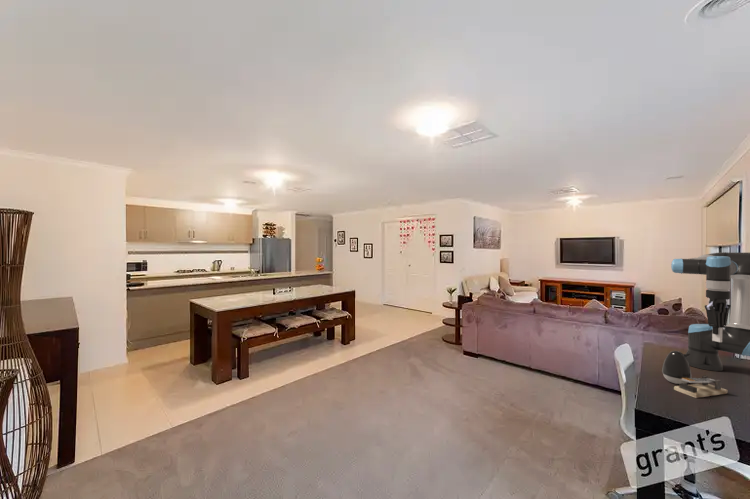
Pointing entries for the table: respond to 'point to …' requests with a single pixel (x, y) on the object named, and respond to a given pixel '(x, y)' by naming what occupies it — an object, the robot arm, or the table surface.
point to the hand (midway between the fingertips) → (717, 341)
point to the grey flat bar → (699, 380)
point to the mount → (701, 389)
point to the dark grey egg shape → (676, 367)
